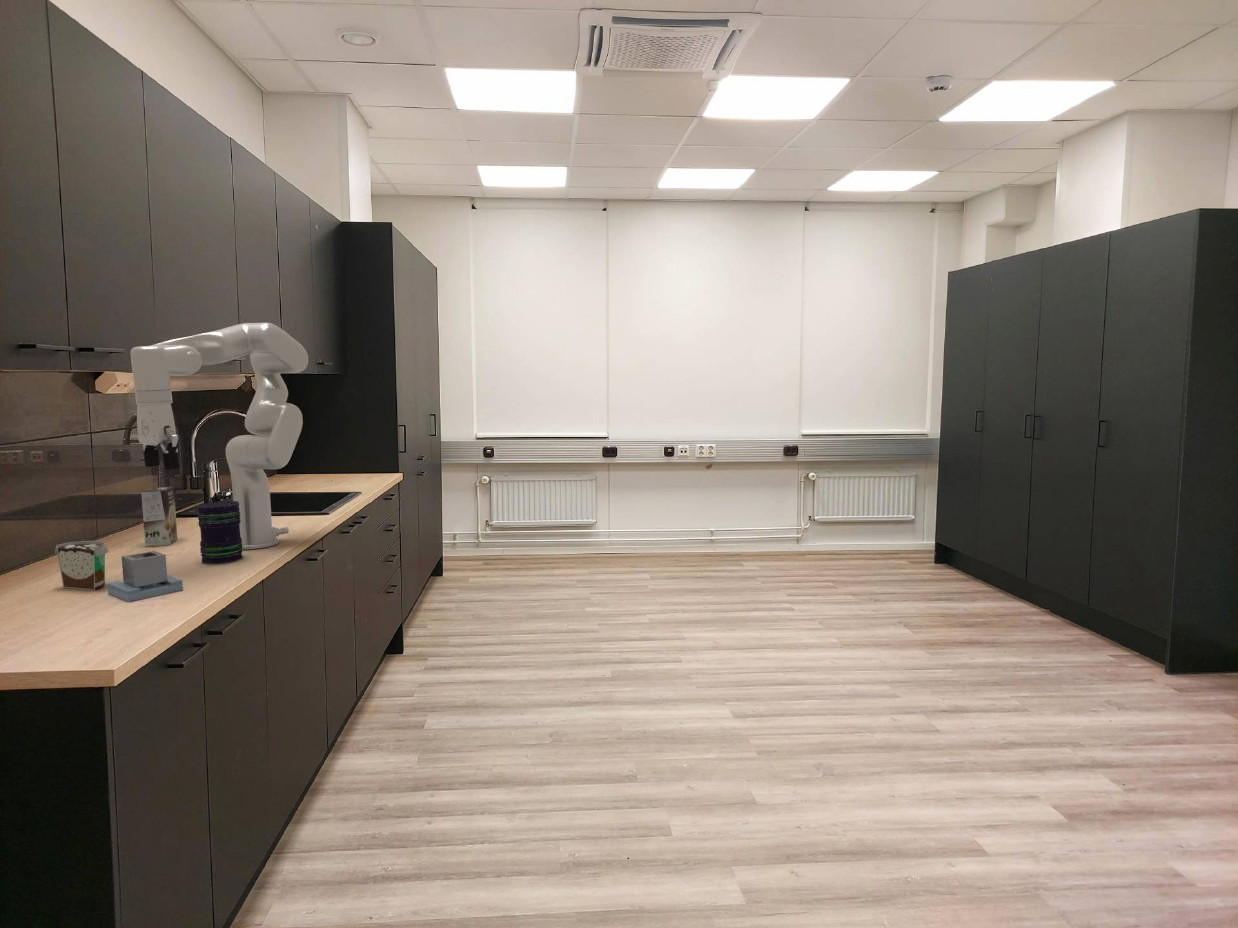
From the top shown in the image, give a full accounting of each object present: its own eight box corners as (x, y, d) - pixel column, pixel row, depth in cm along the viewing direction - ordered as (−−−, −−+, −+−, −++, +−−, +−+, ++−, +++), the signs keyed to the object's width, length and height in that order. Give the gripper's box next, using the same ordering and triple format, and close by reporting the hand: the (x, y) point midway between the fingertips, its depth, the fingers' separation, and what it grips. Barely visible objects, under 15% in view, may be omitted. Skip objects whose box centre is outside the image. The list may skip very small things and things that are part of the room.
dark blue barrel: (211, 566, 192) (207, 508, 190) (194, 560, 198) (189, 504, 196) (250, 558, 200) (246, 503, 198) (232, 553, 206) (228, 499, 204)
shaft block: (161, 582, 177) (158, 551, 176) (182, 589, 170) (180, 557, 170) (108, 593, 168) (105, 560, 167) (128, 601, 162) (125, 567, 161)
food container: (124, 583, 176) (120, 541, 175) (99, 590, 170) (96, 547, 169) (83, 580, 180) (79, 539, 178) (58, 587, 174) (54, 544, 173)
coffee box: (170, 545, 217) (165, 490, 215) (144, 547, 215) (140, 491, 213) (178, 539, 226) (174, 486, 224) (153, 540, 224) (149, 487, 222)
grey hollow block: (156, 576, 174) (154, 550, 173) (167, 580, 169) (165, 554, 169) (123, 582, 169) (121, 556, 168) (134, 587, 164) (132, 560, 164)
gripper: (120, 398, 184) (129, 467, 186) (154, 399, 174) (162, 472, 177) (153, 396, 190) (161, 463, 192) (187, 397, 180) (195, 468, 183)
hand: (162, 467), depth 184 cm, fingers open, 9 cm apart
